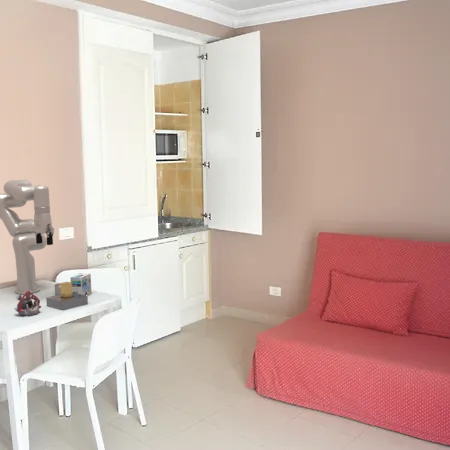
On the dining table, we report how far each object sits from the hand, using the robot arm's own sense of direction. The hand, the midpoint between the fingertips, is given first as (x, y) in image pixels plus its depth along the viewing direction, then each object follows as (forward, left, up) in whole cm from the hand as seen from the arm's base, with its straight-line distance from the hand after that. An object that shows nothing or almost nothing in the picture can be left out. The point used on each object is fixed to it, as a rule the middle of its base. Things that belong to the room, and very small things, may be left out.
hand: (44, 244), depth 282 cm
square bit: (+20, -2, -28) cm, 35 cm away
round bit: (+1, +7, -28) cm, 29 cm away
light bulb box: (+9, +14, -29) cm, 33 cm away
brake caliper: (+19, -22, -29) cm, 40 cm away
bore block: (+20, -2, -28) cm, 35 cm away
